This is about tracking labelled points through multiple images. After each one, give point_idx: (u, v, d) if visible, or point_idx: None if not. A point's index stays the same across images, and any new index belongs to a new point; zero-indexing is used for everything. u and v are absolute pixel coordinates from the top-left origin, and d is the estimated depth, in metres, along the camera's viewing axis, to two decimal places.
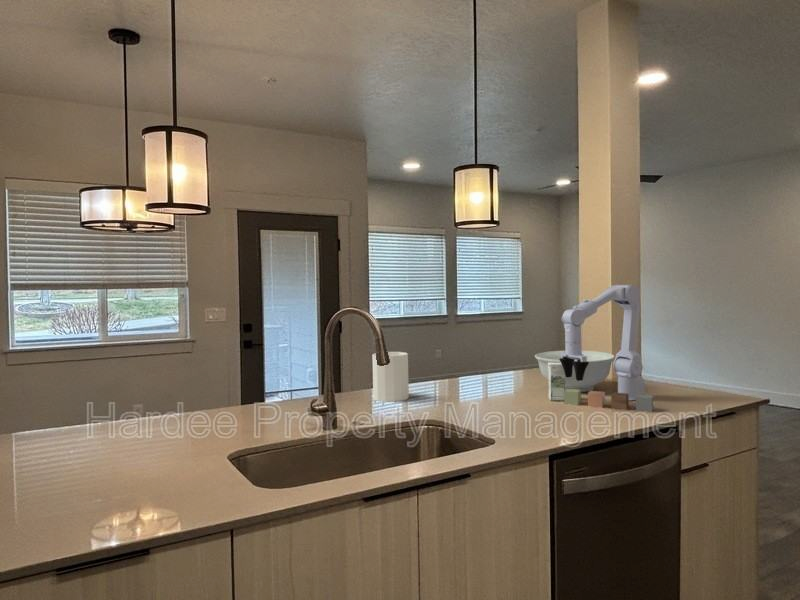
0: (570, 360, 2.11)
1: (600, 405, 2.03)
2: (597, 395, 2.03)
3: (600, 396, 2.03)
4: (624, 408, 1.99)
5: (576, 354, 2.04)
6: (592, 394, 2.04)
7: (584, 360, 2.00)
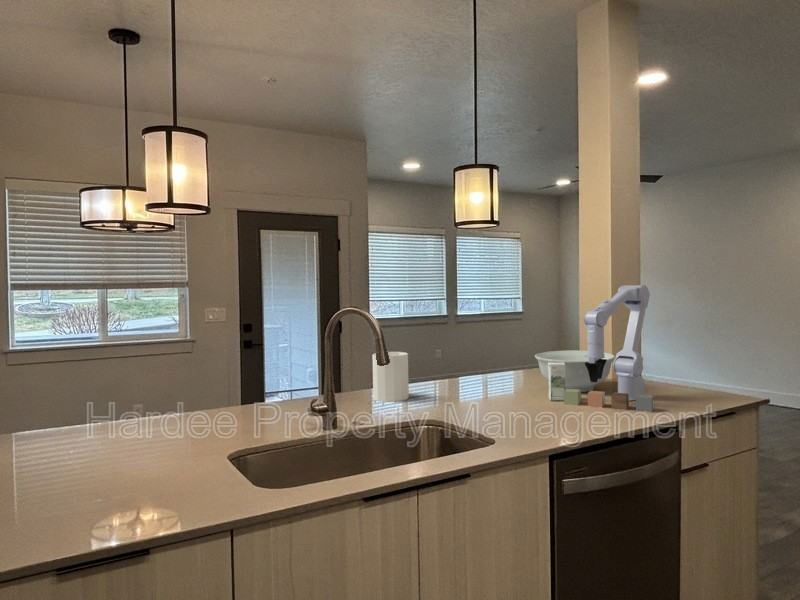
0: (600, 362, 2.08)
1: (600, 405, 2.03)
2: (597, 395, 2.03)
3: (600, 396, 2.03)
4: (624, 408, 1.99)
5: (592, 355, 2.03)
6: (592, 394, 2.04)
7: (591, 361, 1.99)
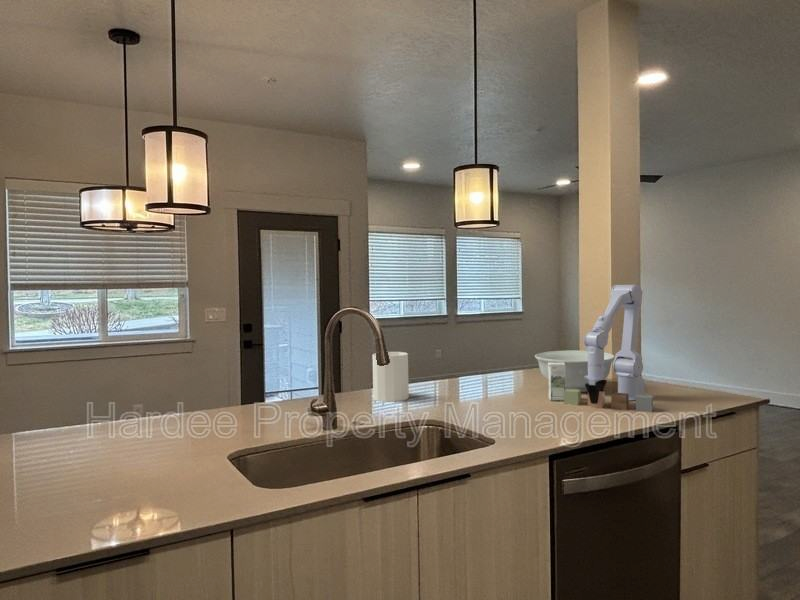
0: (600, 383, 2.08)
1: (600, 405, 2.03)
2: None
3: (600, 396, 2.03)
4: (624, 408, 1.99)
5: (593, 377, 2.03)
6: None
7: (591, 383, 1.99)
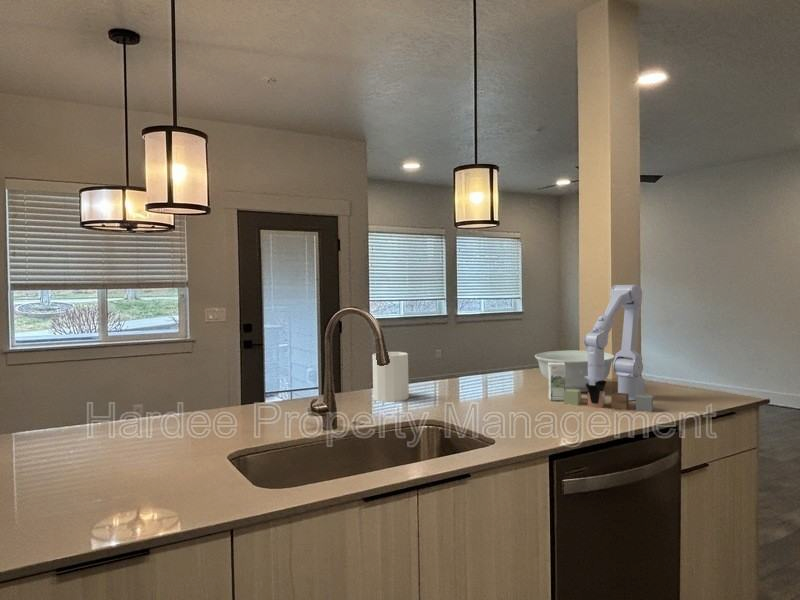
0: (600, 383, 2.08)
1: (600, 405, 2.03)
2: None
3: (600, 396, 2.03)
4: (624, 408, 1.99)
5: (593, 377, 2.03)
6: None
7: (591, 384, 1.99)
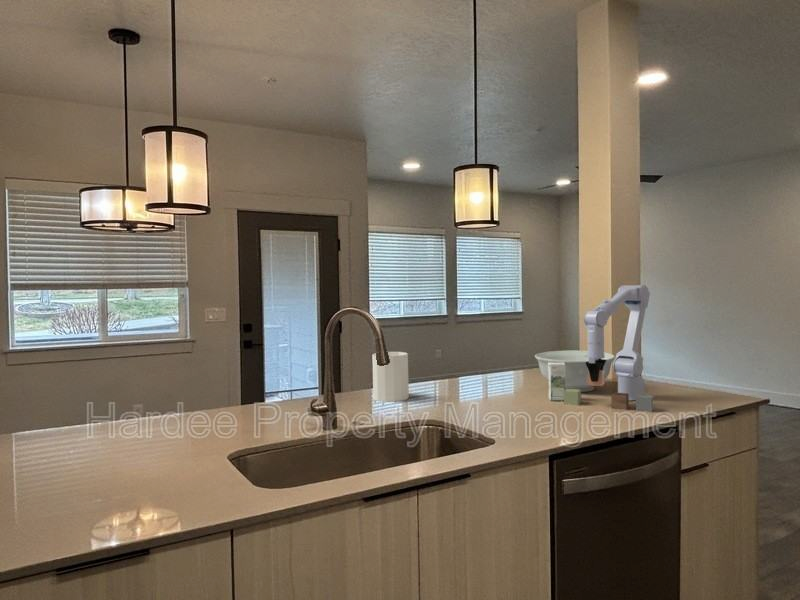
0: (599, 362, 2.07)
1: (600, 383, 2.03)
2: None
3: (600, 374, 2.02)
4: (624, 408, 1.99)
5: (592, 355, 2.03)
6: None
7: (591, 361, 1.99)
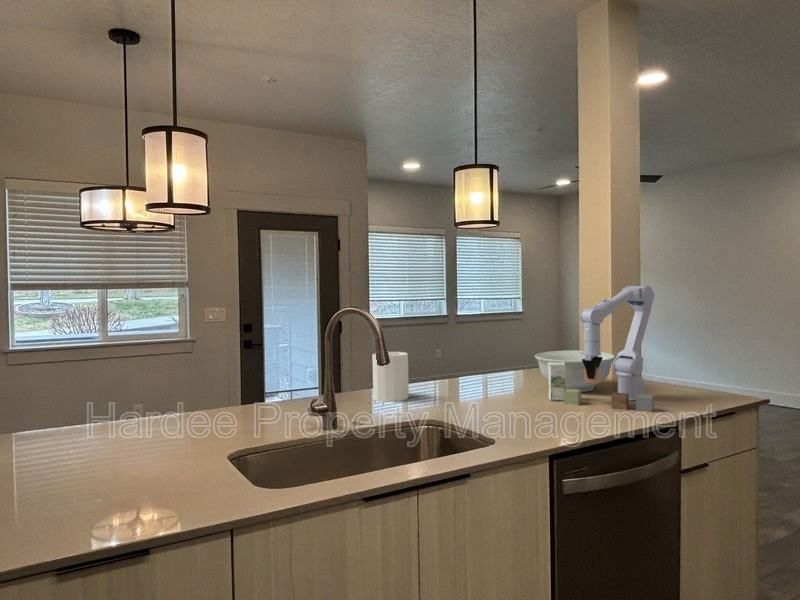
0: (596, 359, 2.10)
1: (596, 380, 2.06)
2: None
3: (596, 371, 2.06)
4: (624, 408, 1.99)
5: (589, 353, 2.06)
6: None
7: (588, 359, 2.02)
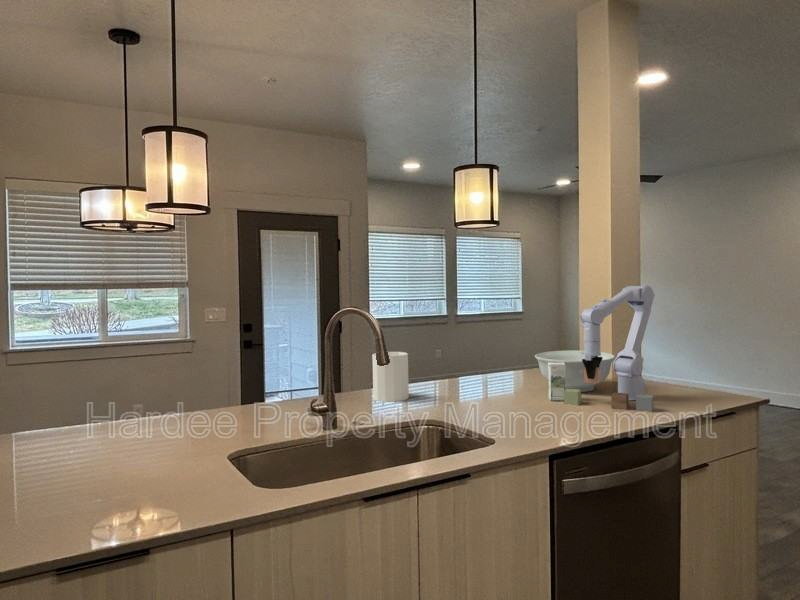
0: (596, 359, 2.10)
1: (596, 380, 2.06)
2: None
3: (596, 371, 2.06)
4: (624, 408, 1.99)
5: (589, 353, 2.06)
6: None
7: (588, 359, 2.02)
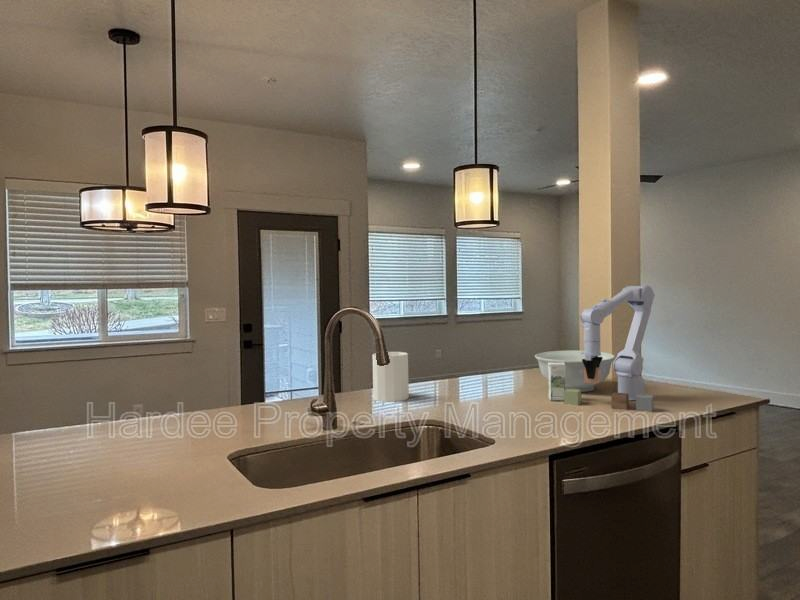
0: (596, 359, 2.10)
1: (596, 380, 2.06)
2: None
3: (596, 371, 2.06)
4: (624, 408, 1.99)
5: (589, 353, 2.06)
6: None
7: (588, 359, 2.02)
